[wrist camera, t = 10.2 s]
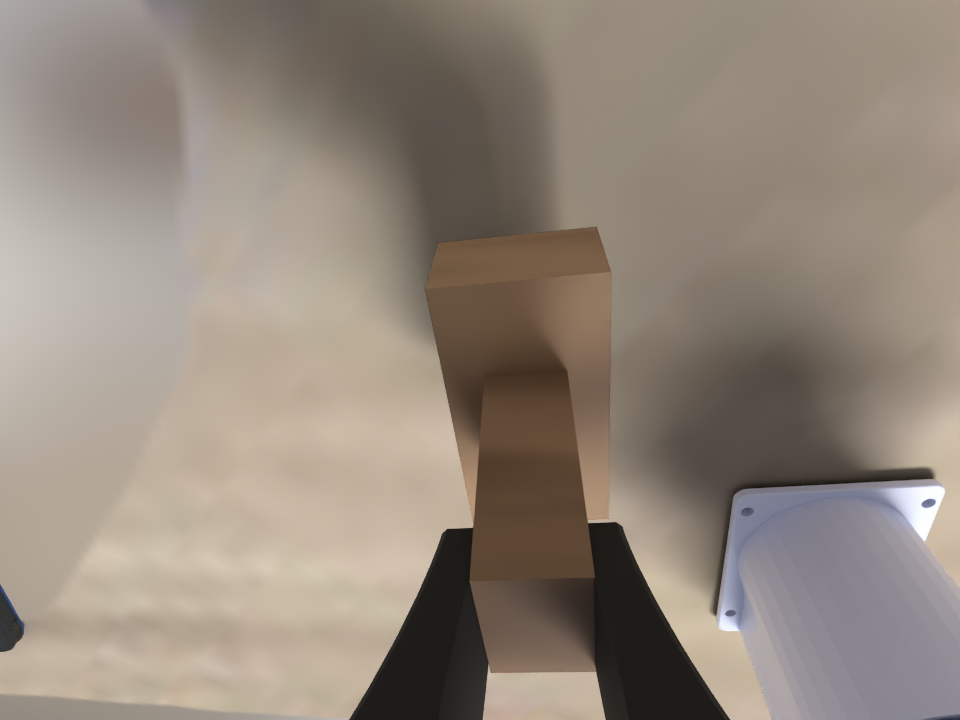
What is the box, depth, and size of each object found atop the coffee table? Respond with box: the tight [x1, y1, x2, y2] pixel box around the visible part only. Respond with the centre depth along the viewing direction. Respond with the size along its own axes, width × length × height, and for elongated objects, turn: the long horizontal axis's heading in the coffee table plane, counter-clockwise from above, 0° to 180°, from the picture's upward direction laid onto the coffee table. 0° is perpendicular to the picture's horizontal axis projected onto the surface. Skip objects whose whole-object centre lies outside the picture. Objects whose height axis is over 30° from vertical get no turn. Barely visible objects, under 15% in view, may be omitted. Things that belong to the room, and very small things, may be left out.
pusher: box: [425, 227, 611, 673], centre depth 13 cm, size 8×4×8 cm, turn 7°
